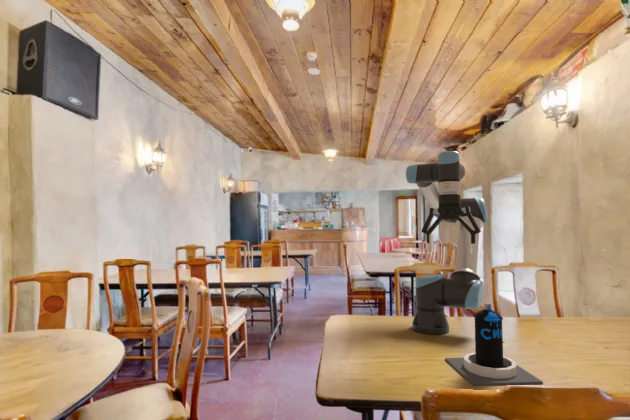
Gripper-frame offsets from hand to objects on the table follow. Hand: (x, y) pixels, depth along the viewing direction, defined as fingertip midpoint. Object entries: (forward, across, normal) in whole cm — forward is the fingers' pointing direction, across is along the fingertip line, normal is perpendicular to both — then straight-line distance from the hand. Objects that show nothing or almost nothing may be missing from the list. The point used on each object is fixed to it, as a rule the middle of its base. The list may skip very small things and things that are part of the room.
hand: (450, 252), depth 135 cm
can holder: (+35, +14, -14) cm, 40 cm away
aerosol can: (+34, +14, -14) cm, 40 cm away
